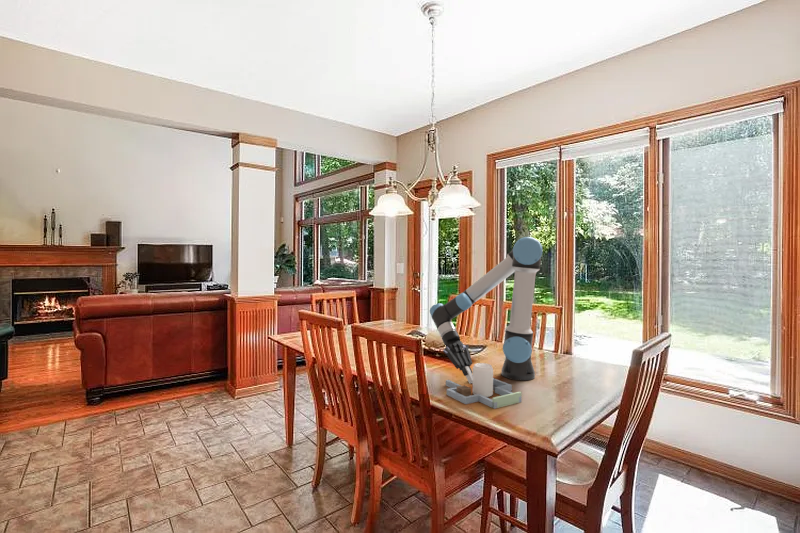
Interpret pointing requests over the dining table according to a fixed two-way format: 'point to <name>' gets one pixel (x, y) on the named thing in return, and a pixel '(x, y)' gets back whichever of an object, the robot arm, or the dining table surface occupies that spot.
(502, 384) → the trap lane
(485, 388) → the beverage can
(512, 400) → the end wall
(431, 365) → the dining table surface
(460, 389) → the walnut cube
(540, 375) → the dining table surface
